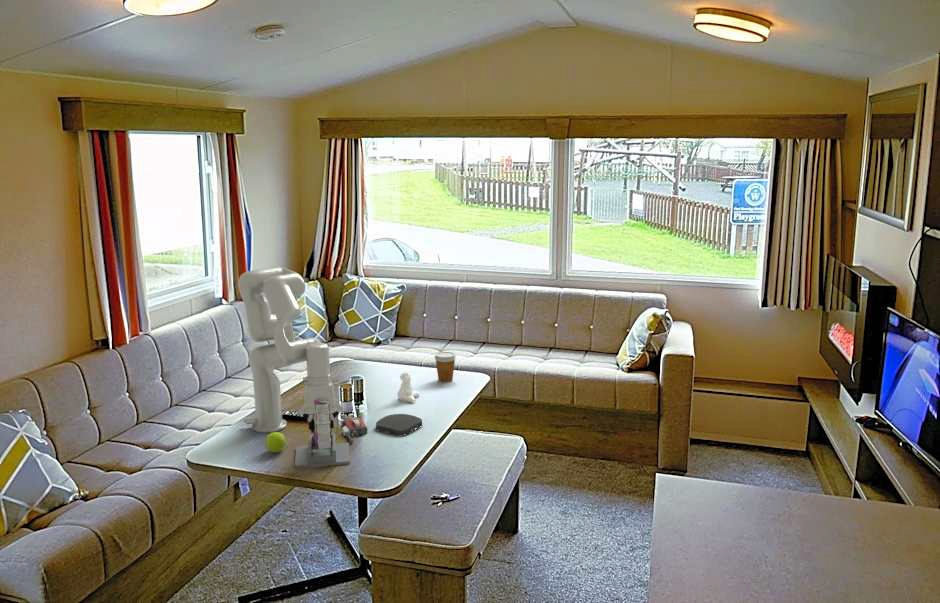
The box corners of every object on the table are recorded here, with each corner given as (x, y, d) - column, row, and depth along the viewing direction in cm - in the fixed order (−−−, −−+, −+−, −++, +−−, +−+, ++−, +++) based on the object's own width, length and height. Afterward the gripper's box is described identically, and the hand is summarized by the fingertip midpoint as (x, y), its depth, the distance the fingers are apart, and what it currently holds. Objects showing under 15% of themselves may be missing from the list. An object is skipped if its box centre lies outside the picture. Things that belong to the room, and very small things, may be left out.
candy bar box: (312, 438, 264) (310, 393, 260) (326, 436, 265) (324, 391, 262) (317, 450, 253) (314, 403, 250) (332, 448, 255) (330, 402, 251)
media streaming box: (395, 418, 296) (395, 410, 296) (426, 425, 289) (426, 417, 288) (371, 430, 284) (371, 422, 283) (403, 438, 277) (403, 430, 276)
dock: (294, 468, 251) (293, 454, 250) (296, 449, 267) (296, 435, 265) (349, 464, 254) (349, 450, 253) (348, 445, 270) (348, 431, 269)
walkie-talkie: (337, 426, 288) (349, 445, 270) (336, 415, 287) (349, 434, 269) (359, 423, 292) (373, 442, 273) (359, 412, 291) (373, 430, 273)
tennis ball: (266, 456, 260) (264, 437, 259) (265, 449, 267) (264, 430, 265) (286, 454, 262) (285, 435, 261) (285, 446, 269) (284, 428, 267)
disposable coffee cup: (459, 378, 343) (459, 352, 340) (450, 384, 334) (450, 358, 332) (440, 375, 347) (440, 350, 344) (431, 382, 338) (430, 356, 336)
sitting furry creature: (415, 403, 311) (414, 375, 308) (394, 402, 312) (393, 374, 310) (420, 396, 320) (419, 368, 318) (400, 395, 321) (399, 367, 319)
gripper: (292, 385, 249) (295, 437, 253) (345, 381, 252) (347, 433, 256) (293, 378, 257) (296, 428, 261) (344, 374, 260) (347, 425, 263)
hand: (321, 430), depth 258 cm, fingers closed on candy bar box, 5 cm apart
